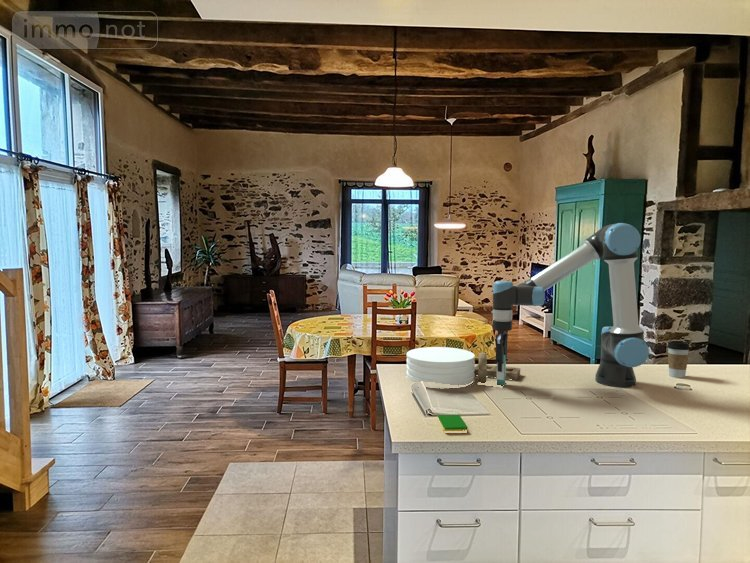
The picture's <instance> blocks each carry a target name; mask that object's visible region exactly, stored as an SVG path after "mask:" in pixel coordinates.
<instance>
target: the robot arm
mask: <svg viewBox="0 0 750 563" xmlns="http://www.w3.org/2000/svg"><path fill="white" fill-rule="evenodd" d="M640 245H641V235H640V232H639V230H638V229H637V228H636V227H635V226H633V225H631V224H628V223H626V222H618V223H610V224H607V225H605V226H603V227H601V228H600V229H598V230H597V231H596V232H594V233H593V234H592V235H591V236H589V237H587V238H586V239H584V241H583V244H582V245H580V246H578V247H577V248H575V249H573V250H572V251H570V252H569V253H567V254H566V255H564V256H563V257H561V258H559V259H558V260H556V261H555V262H553V263H552V264H550V265H549V266H548V267H546V268H545V269H543V270H541V271H540V272H538V273H536V274H535V275H534V276H532V277H531V278H528V279H527V280H526V281H523V282H520V283H519V284H517V285H516V286H515V285H514V283H513V281H511V280H496V281H495V282H494V283H493V289H492V310H491V311H490V312H491V314H492V323H491V324H492V326H491V327H492V330H493V331H496V332H497V334H496V335H495V340H494V341H495V361H494V364H496V366H497V377H496V380H497V379H499V380H504V362H503V360H504V355H506V362H508V361H509V359H508V339H509V334H508V333H507V332H509V331H511V330H513V322H512V320H513V306H528V307H537V306H538V307H541V306H543V305H544V304H545V301H546V300H545V299H546V293H545V292H546V291H547V290H549V289H550V288H552V287H553V286H554V285H557V284H558V283H560V282H561V281H562V280H564V279H566V278H567V277H569V276H571V275H572V274H574V273H576V272H577V271H579V270H580V269H582V268H584V267H585V266H587V265H588V264H590V263H591V262H593V261H595V260H597V261H598V260H601V259H602V258H603V262H605V263H607V265H608V274H609V285H610V296H611V297H610V298H611V309H612V310H611V311H612V323H613V325H612V326H603V327H602V329H601V333H600V335H601V339H600V340H601V341H600V343H601V344H600V363H599V365H598V368H597V370H596V372H595V378H594V380H595V382H597V383H599V384H601V385H604V386H609V387H610V386H611V387H617V388H618V387H619V388H631V387H634V386H636V385H637V377H636V374H635V371H634V368H637V367H640V366H641V365H643V364H644V363H645V362H646V361H647V360H648V358H649V355H650V349H649V348H650V347H649V346H648V344H647V343H646V341H645V338H644V337H645V334H644V328H642V327H641V326H640V325H639V315H638V303H637V301H638V300H637V291H636V290H637V288H636V278H635V277H636V276H635V261H636V260H638V258H639V257H638V256H639V254H638V249H639V247H640ZM506 367H507V365H506V366H505V377H506Z"/></svg>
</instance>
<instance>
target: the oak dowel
mask: <svg viewBox="0 0 750 563" xmlns="http://www.w3.org/2000/svg"><path fill="white" fill-rule="evenodd" d="M487 359H488V353H487V352H479V353H478V364H479V372H478V378H477V380H478V381H477V382H481V383H485V382H486V380H487V378H486V376H487V365H488V360H487Z"/></svg>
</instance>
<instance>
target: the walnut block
mask: <svg viewBox="0 0 750 563" xmlns="http://www.w3.org/2000/svg"><path fill="white" fill-rule="evenodd" d="M474 367H475V371H474V373H475V375H478V372H479V363H478V364H477V365H476V366H474ZM519 375H520V376H521V368H520V367H510V366H506V377H505V379H512V380H518V379H519V378H520V376H519ZM487 376H488V377H497V365H494V364H493V365H492V364H487ZM518 377H519V378H518ZM517 378H518V379H517ZM512 380H511V381H512Z"/></svg>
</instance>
